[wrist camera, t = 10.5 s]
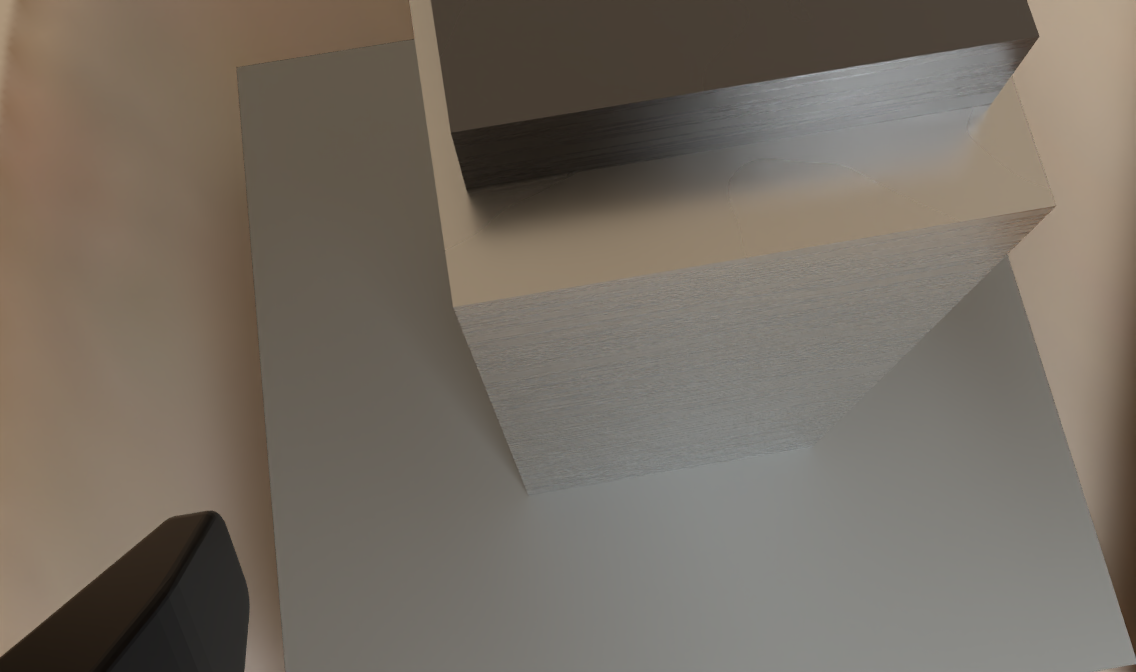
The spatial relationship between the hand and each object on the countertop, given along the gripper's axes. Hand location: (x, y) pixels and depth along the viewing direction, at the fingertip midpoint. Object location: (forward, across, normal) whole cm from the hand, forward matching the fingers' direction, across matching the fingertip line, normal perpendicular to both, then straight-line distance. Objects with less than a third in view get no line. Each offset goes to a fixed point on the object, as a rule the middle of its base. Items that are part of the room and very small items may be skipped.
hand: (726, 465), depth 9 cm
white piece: (+6, 0, +2) cm, 6 cm away
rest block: (+8, 0, +4) cm, 9 cm away
